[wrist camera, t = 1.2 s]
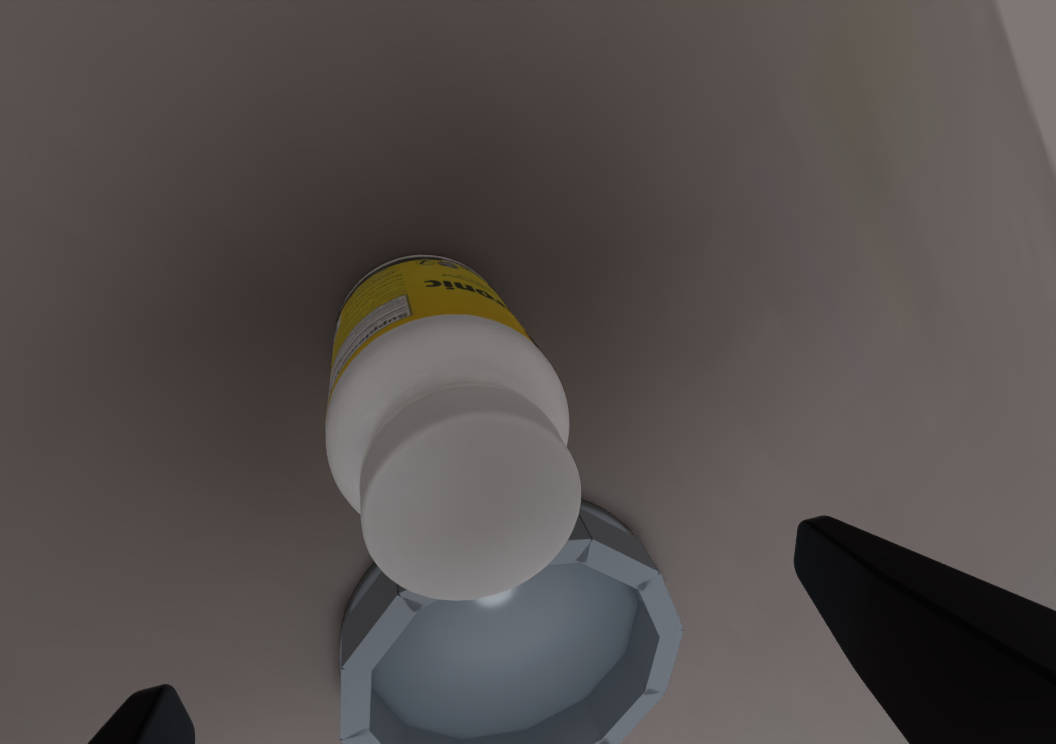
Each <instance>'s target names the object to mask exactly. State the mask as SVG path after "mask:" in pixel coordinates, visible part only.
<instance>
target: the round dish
mask: <svg viewBox="0 0 1056 744" xmlns="http://www.w3.org/2000/svg"><path fill="white" fill-rule="evenodd" d="M683 631H684V630H683V626H682V624H681V621H680V619H679V617H678V614H677V612H676V609H675V607H674V604H673V602H672V600H671V597H670V595H669V592H668V590H667V588H666V585H665V583H664V580H663V578H662V575H661V573H660V572H659V570H658V568H657V567H656V565H655V564H654V562H653V561H652V559H651V558H650V556H649V555H648V553H647V551H646V550H645V548H644V547H643V545H642V544H641V542H640V541H639V539H638V538H637V537H635V536H634V535H633V534H632V533H631V531H630V530H629V529H628V528H627V527H626V526H625V525H624V524H623V523H622V522H621V521H620V520H618V519H617V518H616V517H615V516H613V515H612V514H610V513H609V512H607V511H605V510H604V509H602V508H600V507H598V506H596V505H594V504H591V503H589V502H587V501H584V500H581V504H580V510H579V515H578V518H577V520H576V523H575V527H574V529H573V531H572V533H571V535H570V537H569V539H568V540H567V542H566V544H565V545H564V546H563V548H562V549H561V550H560V552H559V553H558V554H557V556H556V557H555V558H554V559H553V560H552V561H551V562H550V563H549V564H548V565H547V566H546V567H545V568H544V569H542V570H541V571H540V572H538V573H537V574H536V575H534V576H533V577H532V578H530V579H529V580H527V581H525V582H524V583H522V584H520V585H518V586H516V587H514V588H512V589H510V590H507V591H505V592H502V593H499V594H496V595H493V596H488V597H484V598H479V599H474V600H460V601H452V600H440V599H433V598H429V597H426V596H422V595H419V594H416V593H413V592H411V591H409V590H407V589H405V588H403V587H401V586H400V585H398V584H397V583H395V582H394V581H393V580H391V579H390V578H389V577H388V576H387V575H385V574H384V573H383V572H382V570H381V569H380V568H379V567H378V566H377V564H376V563H375V562H374V564H373V565H372V566H371V567H370V568H369V569H368V571H367V572H366V573H365V575H364V576H363V578H362V579H361V581H360V582H359V584H358V585H357V587H356V589H355V590H354V592H353V594H352V597H351V599H350V601H349V603H348V605H347V608H346V611H345V615H344V618H343V622H342V626H341V636H340V652H339V662H340V674H341V719H340V739H341V742H342V743H343V744H619V743H620V742H621V741H622V740H623V739H624V738H625V737H626V736H627V735H628V733H629V732H630V731H631V730H632V729H633V728H634V727H635V726H636V725H637V724H638V723H639V721H640V720H641V719H642V718H643V717H644V716H645V715H646V714H647V713H648V712H649V710H650V709H651V708H652V707H653V706H654V705H655V704H656V703H657V702H658V701H659V700H660V698H661V697H662V696H663V695H664V694H665V693H664V692H666V689H667V686H668V683H669V679H670V676H671V672H672V669H673V666H674V662H675V659H676V655H677V652H678V648H679V645H680V642H681V638H682V635H683Z"/></svg>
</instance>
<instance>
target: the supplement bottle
mask: <svg viewBox="0 0 1056 744" xmlns="http://www.w3.org/2000/svg"><path fill="white" fill-rule="evenodd" d="M325 432H326V434H325V438H326V451H327V457H328V462H329V466H330V469H331V472H332V475H333V478H334V480H335V482H336V484H337V486H338V488H339V490H340V491H341V493H342V494H343V495H344V497H345V498H346V499H347V501H348V502H349V503H350V505H351V506H352V507H353V508H354V509H355V510H356V511H357V512H358V513H359V514H360V515H361V528H362V533H363V538H364V541H365V544H366V547H367V549H368V551H369V554H370V555H371V557H372V559H373V560H374V562H375V563H376V564H377V566H378V567H379V568H380V569H381V570H382V572H383V573H384V574H385V575H387V576H388V577H389V578H390V579H391V580H393V581H394V582H395V583H397V584H398V585H400V586H401V587H403V588H405V589H407V590H409V591H411V592H413V593H416V594H419V595H422V596H426V597H429V598H433V599H440V600H452V601H460V600H474V599H479V598H484V597H488V596H493V595H496V594H499V593H502V592H505V591H507V590H510V589H512V588H514V587H516V586H518V585H520V584H522V583H524V582H525V581H527V580H529V579H530V578H532V577H533V576H534V575H536V574H537V573H538V572H540V571H541V570H542V569H544V568H545V567H546V566H547V565H548V564H549V563H550V562H551V561H552V560H553V559H554V558H555V557H556V556H557V554H558V553H559V552H560V550H561V549H562V548H563V546H564V545H565V544H566V542H567V540H568V539H569V537H570V535H571V533H572V531H573V529H574V527H575V523H576V520H577V518H578V515H579V510H580V504H581V483H580V476H579V473H578V470H577V467H576V464H575V462H574V459H573V457H572V455H571V454H570V452H569V450H568V448H567V443H568V437H569V411H568V404H567V400H566V396H565V393H564V390H563V387H562V384H561V382H560V380H559V378H558V376H557V374H556V372H555V371H554V369H553V367H552V364H551V363H550V362H549V361H548V359H547V358H546V357H545V355H544V354H543V352H542V351H541V350H540V349H539V347H538V346H537V345H536V343H535V342H534V341H533V339H531V338H530V336H529V335H528V334H527V332H526V331H525V330H524V328H523V327H522V326H521V325H520V323H519V322H518V320H517V319H516V318H515V317H514V315H513V314H512V313H511V311H510V310H509V309H508V308H507V306H506V305H505V304H504V302H503V301H502V300H501V298H500V297H499V295H498V294H497V293H496V292H495V290H494V289H493V288H492V287H491V286H490V285H489V284H488V283H487V281H486V280H485V279H483V278H482V277H481V276H480V275H479V274H478V273H476V272H475V271H473V270H472V269H471V268H469V267H467V266H465V265H464V264H462V263H460V262H457V261H454V260H452V259H449V258H445V257H440V256H434V255H412V256H405V257H401V258H397V259H395V260H392V261H389V262H387V263H385V264H382V265H381V266H379V267H377V268H375V269H374V270H372V271H371V272H370V273H368V274H367V275H366V276H364V277H363V278H362V279H361V280H360V281H359V282H358V283H357V284H356V285H355V287H354V288H353V289H352V291H351V292H350V293H349V295H348V296H347V298H346V300H345V302H344V303H343V306H342V308H341V310H340V313H339V315H338V318H337V322H336V327H335V335H334V344H333V355H332V365H331V375H330V384H329V394H328V402H327V412H326V420H325Z"/></svg>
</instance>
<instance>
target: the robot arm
mask: <svg viewBox="0 0 1056 744" xmlns="http://www.w3.org/2000/svg"><path fill="white" fill-rule="evenodd" d="M794 567H795V571H796V574H797V576H798V578H799V580H800V581H801V583H802V585H803V586H804V588H805V590H806V591H807V593H808V595H809V596H810V598H811V599H812V601H813V603H814V604H815V606H816V608H817V609H818V611H819V613H820V614H821V616H822V618H823V619H824V621H825V623H826V624H827V626H828V627H829V629H830V631H831V632H832V634H833V636H834V637H835V639H836V641H837V642H838V644H839V646H840V647H841V649H842V650H843V652H844V654H845V655H846V657H847V658H848V660H849V661H850V663H851V665H852V666H853V668H854V669H855V671H856V672H857V673H858V675H859V676H860V678H861V679H862V680H863V682H864V683H865V685H866V686H867V687H868V689H869V690H870V691H871V693H872V694H873V695H874V697H875V698H876V699H877V701H878V702H879V703H880V705H881V706H882V707H883V709H884V710H885V712H886V713H887V714H888V716H889V717H890V718H891V720H892V721H893V722H894V724H895V725H896V726H897V728H898V729H899V730H900V732H901V733H902V734H903V736H904V737H905V738H906V740H907V741H908V742H909V744H1056V611H1055V610H1053V609H1050V608H1048V607H1045V606H1043V605H1041V604H1038V603H1036V602H1033V601H1031V600H1029V599H1026V598H1024V597H1021V596H1019V595H1017V594H1014V593H1012V592H1009V591H1007V590H1005V589H1002V588H1000V587H998V586H995V585H993V584H990V583H988V582H986V581H983V580H981V579H978V578H976V577H974V576H971V575H969V574H966V573H964V572H962V571H959V570H957V569H954V568H952V567H950V566H947V565H945V564H943V563H940V562H938V561H935V560H933V559H931V558H928V557H926V556H923V555H921V554H919V553H916V552H914V551H911V550H909V549H907V548H904V547H902V546H899V545H897V544H895V543H892V542H890V541H888V540H885V539H883V538H880V537H878V536H876V535H873V534H871V533H868V532H866V531H864V530H861V529H859V528H856V527H854V526H852V525H849V524H847V523H844V522H842V521H840V520H837V519H835V518H832V517H830V516H818V517H814V518H810V519H807V520H803V521H802V522H801V523H800V524H799V525H798V529H797V537H796V545H795V553H794ZM88 744H195V730H194V726H193V723H192V720H191V719H190V717H189V715H188V713H187V711H186V709H185V707H184V705H183V703H182V702H181V700H180V698H179V696H178V694H177V692H176V690H175V689H174V688H173V687H172V686H171V685H169V684H163V685H159V686H155V687H151V688H147V689H144V690H140V691H137V692H135V693H134V694H132V695H131V696H130V697H129V698H128V699H127V700H126V701H125V702H124V703H123V704H122V705H121V707H120V708H119V709H118V710H117V711H116V712H115V713H114V714H113V716H112V717H111V718H110V719H109V720H108V721H107V722H106V723H105V725H104V726H103V727H102V728H101V729H100V730H99V731H98V732H97V734H96V735H95V736H94V737H93V738H92V739H91V740H90V741H89V742H88Z"/></svg>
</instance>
